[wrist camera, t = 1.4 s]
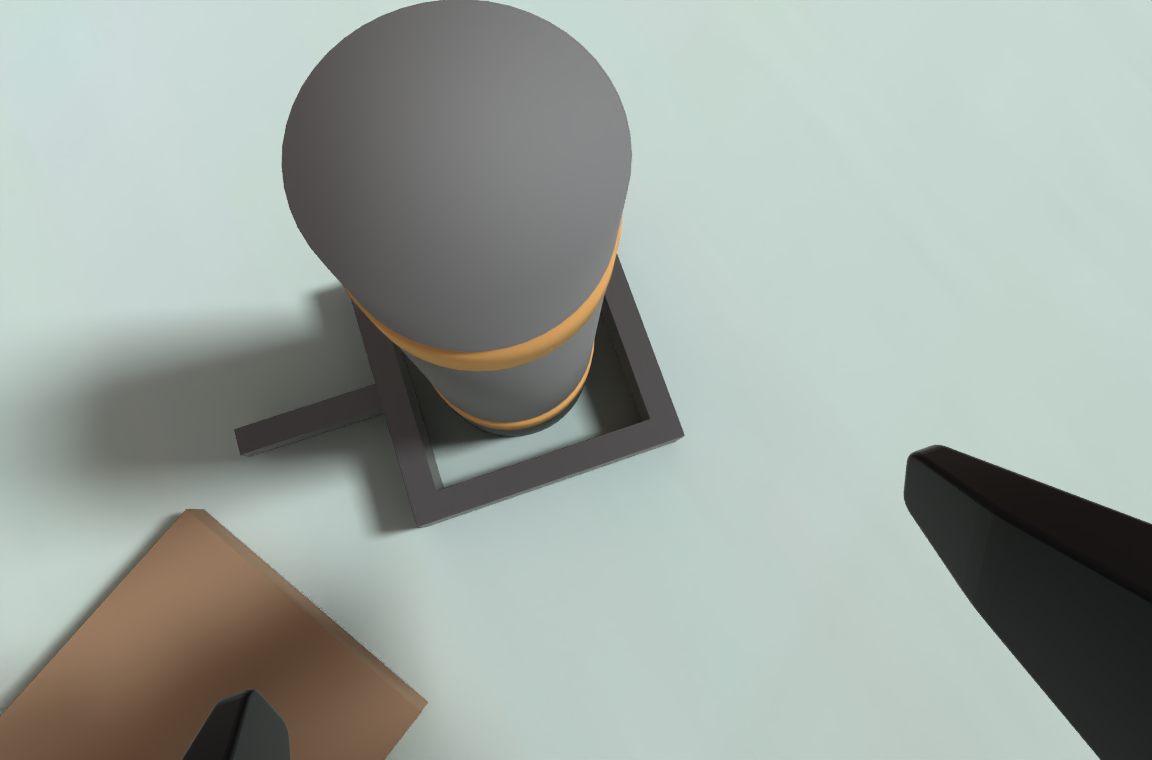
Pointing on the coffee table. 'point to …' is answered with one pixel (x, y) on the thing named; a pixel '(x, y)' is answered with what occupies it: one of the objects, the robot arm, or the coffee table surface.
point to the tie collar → (445, 503)
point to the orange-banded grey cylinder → (467, 198)
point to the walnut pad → (205, 663)
